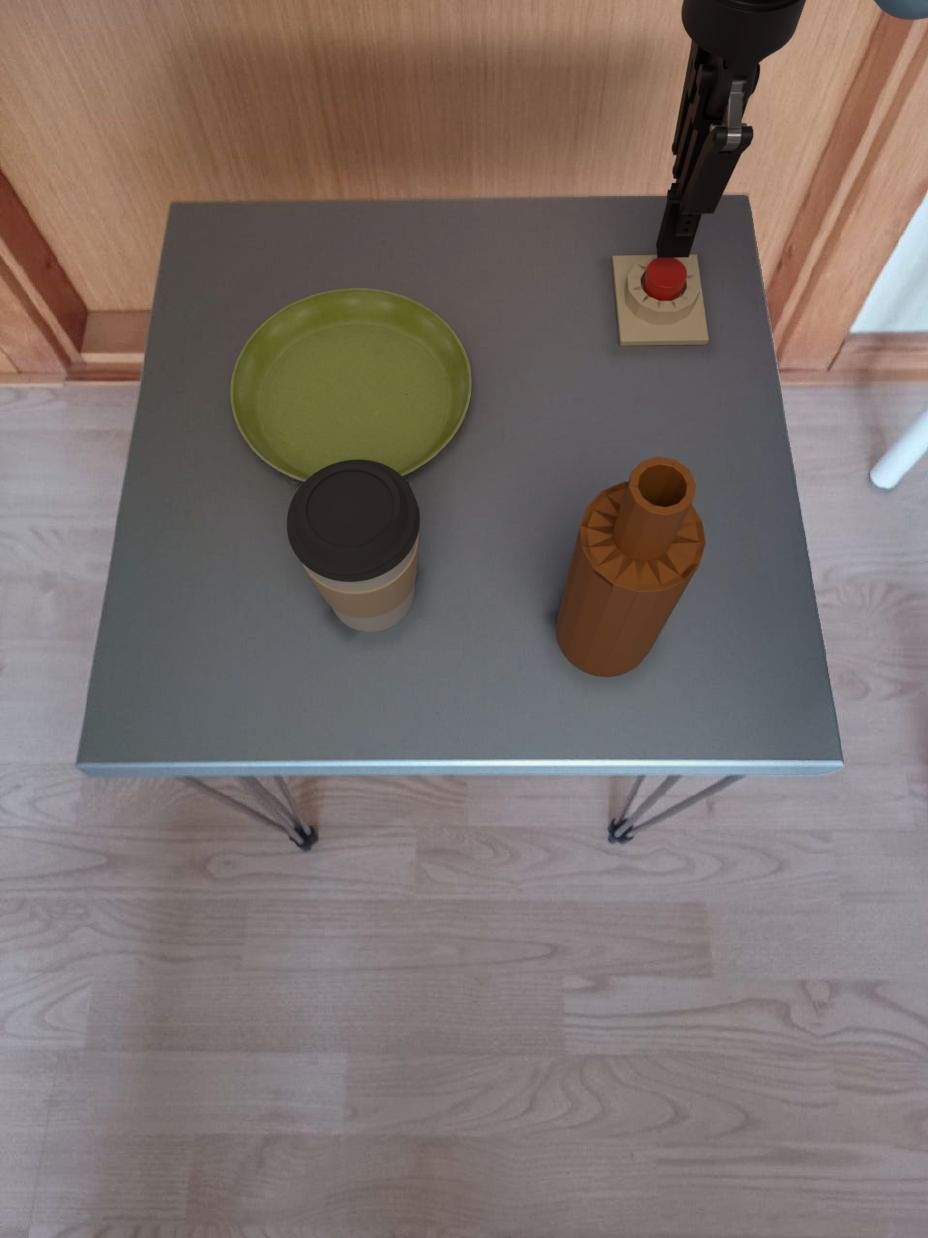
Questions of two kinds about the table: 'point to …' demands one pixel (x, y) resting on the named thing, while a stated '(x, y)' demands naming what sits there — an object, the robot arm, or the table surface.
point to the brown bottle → (630, 568)
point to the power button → (664, 278)
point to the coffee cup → (358, 541)
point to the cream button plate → (657, 306)
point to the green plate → (350, 383)
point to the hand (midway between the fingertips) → (672, 250)
